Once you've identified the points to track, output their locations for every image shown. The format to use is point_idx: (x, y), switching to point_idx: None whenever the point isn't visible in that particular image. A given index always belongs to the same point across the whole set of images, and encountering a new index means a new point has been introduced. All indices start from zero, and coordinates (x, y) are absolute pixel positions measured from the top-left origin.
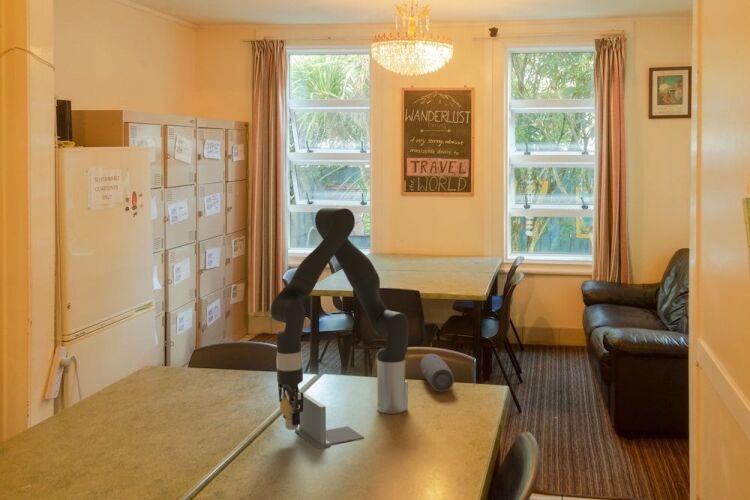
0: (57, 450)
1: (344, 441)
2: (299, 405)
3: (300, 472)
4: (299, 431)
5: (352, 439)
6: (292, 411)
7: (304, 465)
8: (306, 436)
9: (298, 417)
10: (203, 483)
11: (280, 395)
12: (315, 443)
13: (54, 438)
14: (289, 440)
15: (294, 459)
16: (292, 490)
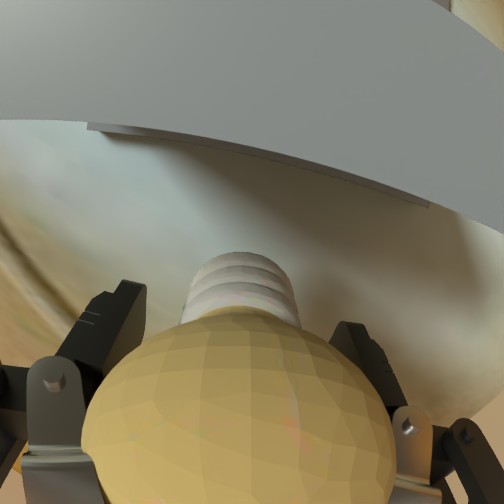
0: None
1: None
2: (426, 471)
3: (469, 363)
4: (152, 136)
5: (448, 10)
6: None
7: (460, 337)
8: (270, 159)
9: (392, 387)
10: None
11: (5, 478)
12: (401, 198)
13: (17, 464)
14: (207, 238)
15: (409, 341)
16: (485, 400)
